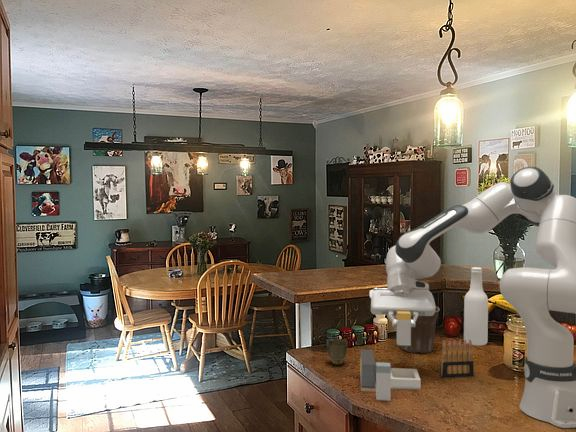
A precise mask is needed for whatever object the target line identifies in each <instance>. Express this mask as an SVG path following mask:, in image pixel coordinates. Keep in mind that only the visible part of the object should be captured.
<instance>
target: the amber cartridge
mask: <svg viewBox="0 0 576 432" xmlns="http://www.w3.org/2000/svg"><path fill="white" fill-rule="evenodd" d="M396 319H397V327H396V345H397V346H400V345H407V346H411V313H410V311H397V315H396Z"/></svg>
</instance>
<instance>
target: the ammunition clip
mask: <svg viewBox="0 0 576 432" xmlns="http://www.w3.org/2000/svg"><path fill="white" fill-rule="evenodd" d="M473 356H474V353H473V345H472V342H471V339H470V340H469V344H467V343H466V340H464V339H463V344H462V341H461V339H459V340H458V341H457V342H456V340H455V339H454V340H453V342H452V343H451V339H448V341H447V343H446V340H443V342H442V347H441V356H440V357H441V360H440V371H439V376H440V377H441V378H442V379H447V378H449V379H451V378H468V377H469V378H470V377H471V378H472V377H475V376H474V375H475V374H474V373H475V372H474V369H475V368H474V358H473Z"/></svg>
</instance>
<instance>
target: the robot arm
mask: <svg viewBox="0 0 576 432" xmlns="http://www.w3.org/2000/svg"><path fill="white" fill-rule="evenodd" d="M509 180H510V182H509V183H508V182H506V181H500V182H497V183H495V184H493V185H492V186H490V187H488V188H487V189H485V190H483V191H482V192H480V193H479V194H477V196H475V197H473V199H471V200H470V201H468V202H466V203H464V204H455V205H453V206H450V207H449V208H447V209H445V210H443V211H442V212H440V213H439V214H437V215H436V216H434V217H433V218H430V219H428V221H426V222H424V223H422V224H421V225H419V226H417V227H415V228H413V229H411V230H409V231H407V232H405V233H403V234H402V235H400V236H399V238H398V239H397V241H396V244H394V245H393V246H391V247H390V248H389V250H388V252H387V254H386V260H385V270H386V274H387V278H386V286H387V287H373V288H372V289H371V290H369V293H368V294H369V299H370V312H371V314H372V315H379V316H381V315H382V316H384V315H385V316H387V317H388V319H389V320H390V322H391V324H392V327H395V328H397V318H394V316H397V311H410V313H411V316H413V320H411V327H415V322H416V320H417V318H418V316H433V315H434V313H435V310H436V307H437V306H436V302H435V298H434V295H433V294H432V292H431V291H430V285H429V283H427V282H425V281H421V280H424V279H428V278H431V277H434V276H435V275H437V274H438V273H439V270H440V268H441V265H442V260H441V258H440V256H439V255H438V254H437V252H436V251H435V250H434V248H432V246H431V245H430V243H431V242H432V241H433V240H435V239H436V238H439V237H441V236H442V235H443V234H444V233H446V232H448V231H449V230H451V229H455V228H457V229H463V231H466V232H469V233H472V234H481V235H482V234H485V233H488V232H490V231H491V230H492V229H494V228H496V226H497V225H499V224H500V223H501V222H503V221H504V219H506V218H507V217H509V216H510V215H512V214H516V215H517V217H518V219H519V220H521V221H524V222H526V223H529V224H530V225H532V226H534V227H538V230H537V236H536V241H535V252H536V254H537V255H538V257H539V258H541V259H542V260H543V261H544V262H546V263H547V264H549V265H551V266H553V267H554V268H539V267H527V266H526V267H516V268H515V267H514V268H508V269H506V270H505V272H504V273H503V274H502V276H501V278H500V280H499V291H500V294H501V296H502V298H503V299H504V301H505V302H506V303H508V304H509V305H510V306H512V307H513V309H514V310H515V311H516V312H517V314H518V316H519V317H520V318H521V321H522V322H523V325H524V328H525V335H526V348H527V349H526V356H525V360H524V371H523V372H524V377H525V383H524V386H523V387H524V390H523V392H522V397H521V400H520V402H519V405H518V406H519V409H520V410H521V411H522V412H523V413H524V414H525V415H527V416H530V417H531V418H534V419H536V420H539V421H542V422H546V423H549V424H552V425H553V426H556V427H557V428H558V427H559V428H562V429H571V428H573V429H574V428H576V362H574V344H575V343H574V341H575V340H574V336H573V333H572V332H571V331H570V330H569V329H568V328H567V327H566V326H564V325H563V324H561V323H559V322H558V321H556V320H555V319H554V318H553V317H552V315H551V314H550V311H554V312H561V313H569V314H576V197H574V196H572V195H568V194H558V193H556V190H555V186H554V184H553V183H552V180H551V179H550V177H549V176H548V175H547V174H546V173H545V172H544V171H543V170H542V169H541V168H539V167H537V166H525V167H522V168H520V169H518V170H516V171H515V172H514V173H513V175H512V176H511V178H510V179H509ZM435 306H436V307H435Z"/></svg>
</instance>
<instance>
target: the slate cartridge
mask: <svg viewBox="0 0 576 432" xmlns="http://www.w3.org/2000/svg"><path fill="white" fill-rule="evenodd" d="M391 368H392V366H391V363H390V362H380V361H379V362H377V361H375V382H376V392H375V398H376V399H375V400H376V401H388V402H389V401H391V392H392V391H391Z"/></svg>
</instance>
